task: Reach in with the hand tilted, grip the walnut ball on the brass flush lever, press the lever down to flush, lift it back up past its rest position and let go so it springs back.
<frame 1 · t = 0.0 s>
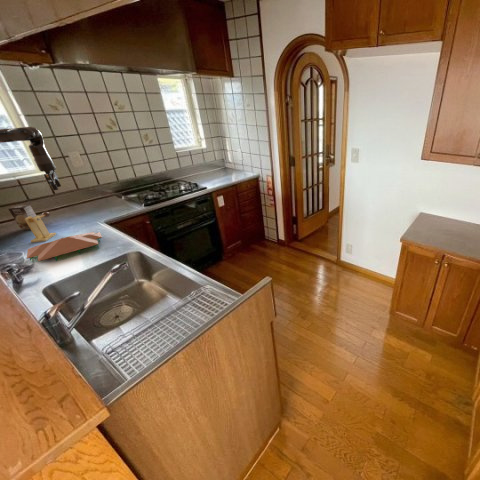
hand: (57, 188, 167), 28 cm above the countertop, tool pointing down, fingers open, 8 cm apart
coffee box: (32, 228, 183), on the countertop
flush bracket: (44, 238, 168), on the countertop
flush lever: (40, 216, 167), point 13 cm above the countertop, hinge at -4.6°
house: (69, 250, 152), on the countertop
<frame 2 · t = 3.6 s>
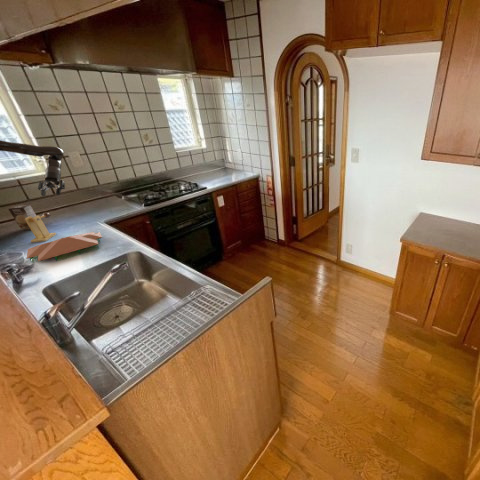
hand: (50, 195, 177), 22 cm above the countertop, tool tilted 45°, fingers open, 8 cm apart
flush lever: (40, 217, 167), point 12 cm above the countertop, hinge at -7.5°
everything else where it was.
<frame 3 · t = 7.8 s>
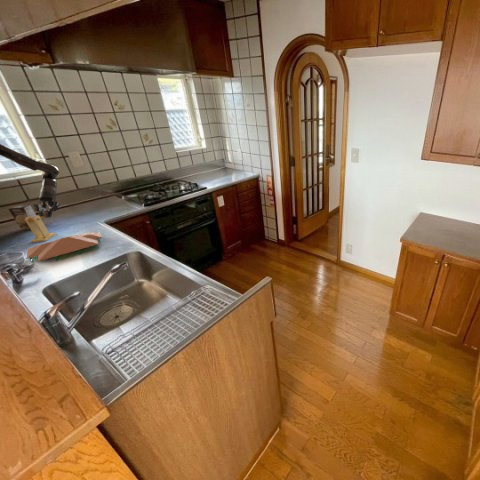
hand: (45, 217, 170), 11 cm above the countertop, tool tilted 45°, fingers closed on flush lever, 3 cm apart
flush lever: (40, 217, 167), point 12 cm above the countertop, hinge at -7.5°, touching gripper
everything else where it was.
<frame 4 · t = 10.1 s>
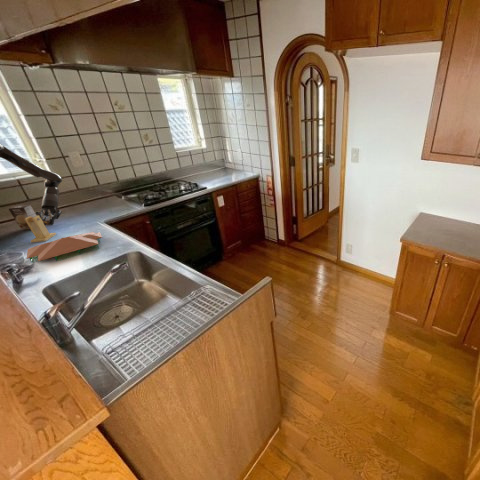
hand: (47, 225, 171), 6 cm above the countertop, tool tilted 45°, fingers closed on flush lever, 3 cm apart
flush lever: (41, 221, 167), point 10 cm above the countertop, hinge at -34.3°, touching gripper
everything else where it was.
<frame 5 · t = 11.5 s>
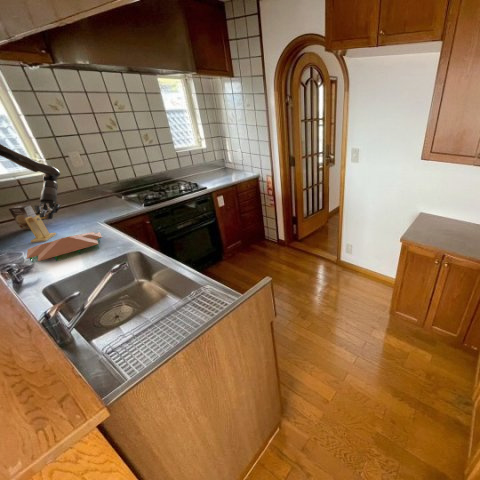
hand: (46, 219, 171), 10 cm above the countertop, tool tilted 45°, fingers closed on flush lever, 3 cm apart
flush lever: (40, 218, 167), point 12 cm above the countertop, hinge at -13.7°, touching gripper
everything else where it was.
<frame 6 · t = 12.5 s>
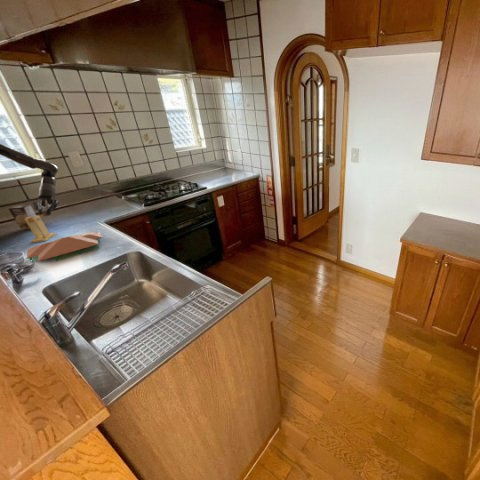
hand: (44, 215, 170), 12 cm above the countertop, tool tilted 45°, fingers closed on flush lever, 3 cm apart
flush lever: (39, 216, 167), point 13 cm above the countertop, hinge at -0.8°, touching gripper
everything else where it was.
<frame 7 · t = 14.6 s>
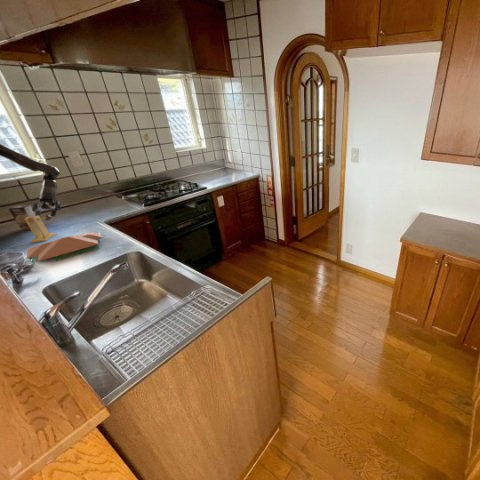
hand: (45, 216, 171), 11 cm above the countertop, tool tilted 45°, fingers open, 8 cm apart
flush lever: (40, 218, 167), point 11 cm above the countertop, hinge at -16.0°
everything else where it was.
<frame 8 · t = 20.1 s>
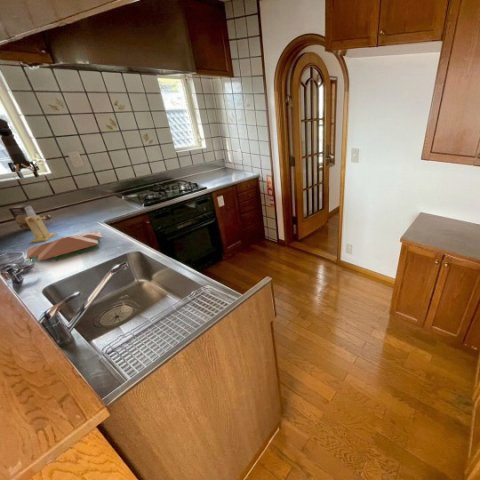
hand: (29, 177, 175), 33 cm above the countertop, tool pointing down, fingers open, 8 cm apart
nothing on the countertop moved.
at the end: flush lever reached -34° during the clip, -16° at the end; flush lever at -16° (first picture: -5°); coffee box moved 0.2 cm from its start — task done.
